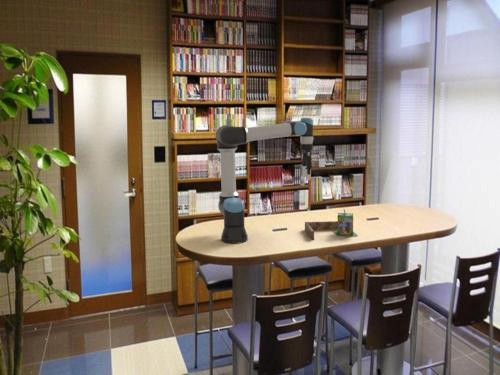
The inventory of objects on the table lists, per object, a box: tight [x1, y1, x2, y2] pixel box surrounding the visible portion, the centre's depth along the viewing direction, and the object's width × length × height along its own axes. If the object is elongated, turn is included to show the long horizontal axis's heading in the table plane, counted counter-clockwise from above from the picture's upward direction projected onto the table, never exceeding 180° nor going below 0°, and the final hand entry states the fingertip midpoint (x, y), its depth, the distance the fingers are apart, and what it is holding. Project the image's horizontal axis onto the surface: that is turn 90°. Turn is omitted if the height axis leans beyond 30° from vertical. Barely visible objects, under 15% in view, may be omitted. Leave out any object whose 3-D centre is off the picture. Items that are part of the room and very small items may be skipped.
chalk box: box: [336, 208, 354, 235], centre depth 273 cm, size 9×9×15 cm
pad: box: [332, 230, 358, 238], centre depth 274 cm, size 12×12×1 cm
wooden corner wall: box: [304, 220, 338, 241], centre depth 273 cm, size 29×22×5 cm
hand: (306, 178), depth 282 cm, fingers open, 13 cm apart
